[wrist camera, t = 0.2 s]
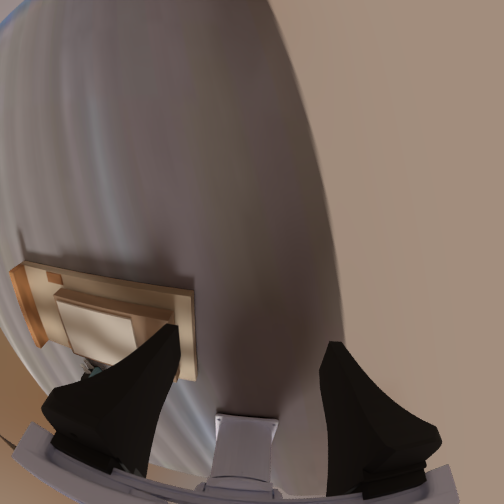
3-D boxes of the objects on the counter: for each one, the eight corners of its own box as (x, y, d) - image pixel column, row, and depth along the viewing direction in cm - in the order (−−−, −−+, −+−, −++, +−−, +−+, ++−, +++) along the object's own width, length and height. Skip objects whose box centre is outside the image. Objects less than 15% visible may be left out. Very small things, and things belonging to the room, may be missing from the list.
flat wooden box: (197, 374, 27) (191, 395, 24) (47, 333, 28) (36, 346, 25) (193, 290, 23) (184, 310, 20) (24, 260, 23) (8, 271, 21)
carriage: (180, 372, 25) (166, 413, 20) (79, 345, 26) (56, 376, 21) (173, 310, 22) (151, 354, 17) (61, 287, 23) (29, 316, 17)
